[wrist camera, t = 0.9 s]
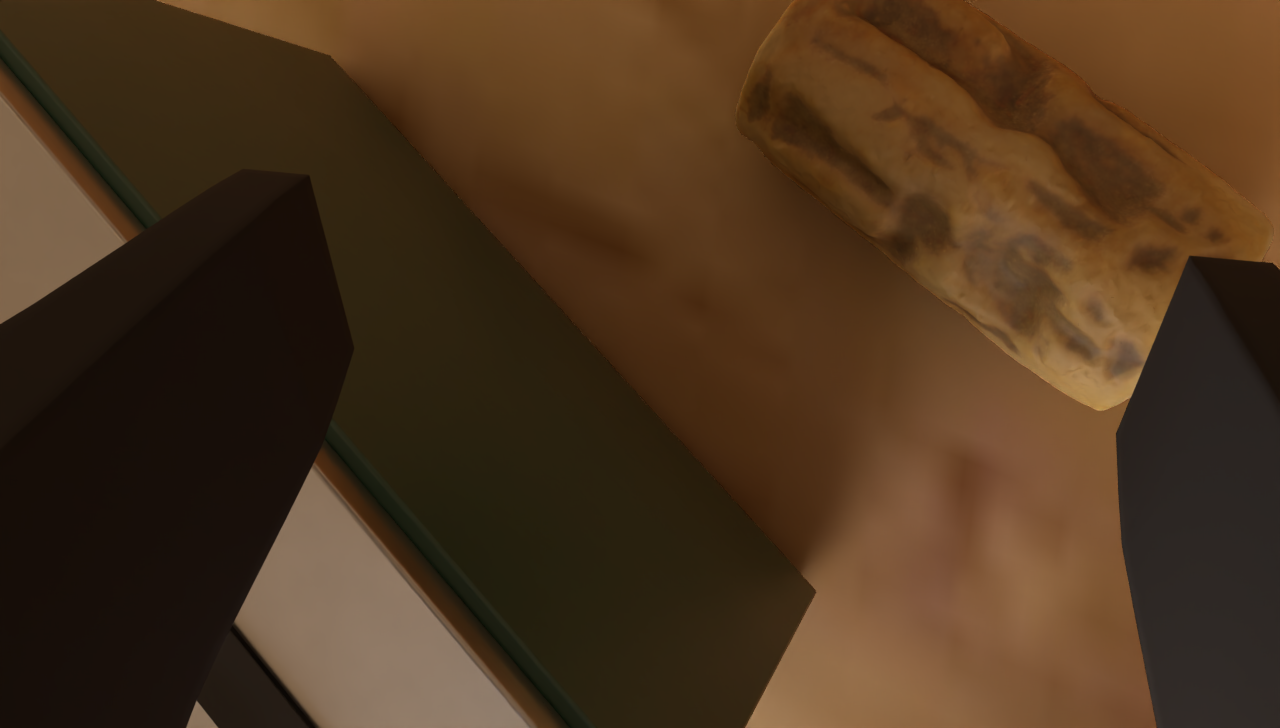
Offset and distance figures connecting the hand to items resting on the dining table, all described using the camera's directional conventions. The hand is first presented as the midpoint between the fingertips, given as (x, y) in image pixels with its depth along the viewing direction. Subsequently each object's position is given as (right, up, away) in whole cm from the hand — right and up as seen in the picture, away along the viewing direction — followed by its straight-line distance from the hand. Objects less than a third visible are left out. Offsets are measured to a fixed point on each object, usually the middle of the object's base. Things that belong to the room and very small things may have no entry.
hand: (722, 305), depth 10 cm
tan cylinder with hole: (+6, +3, +11) cm, 13 cm away
